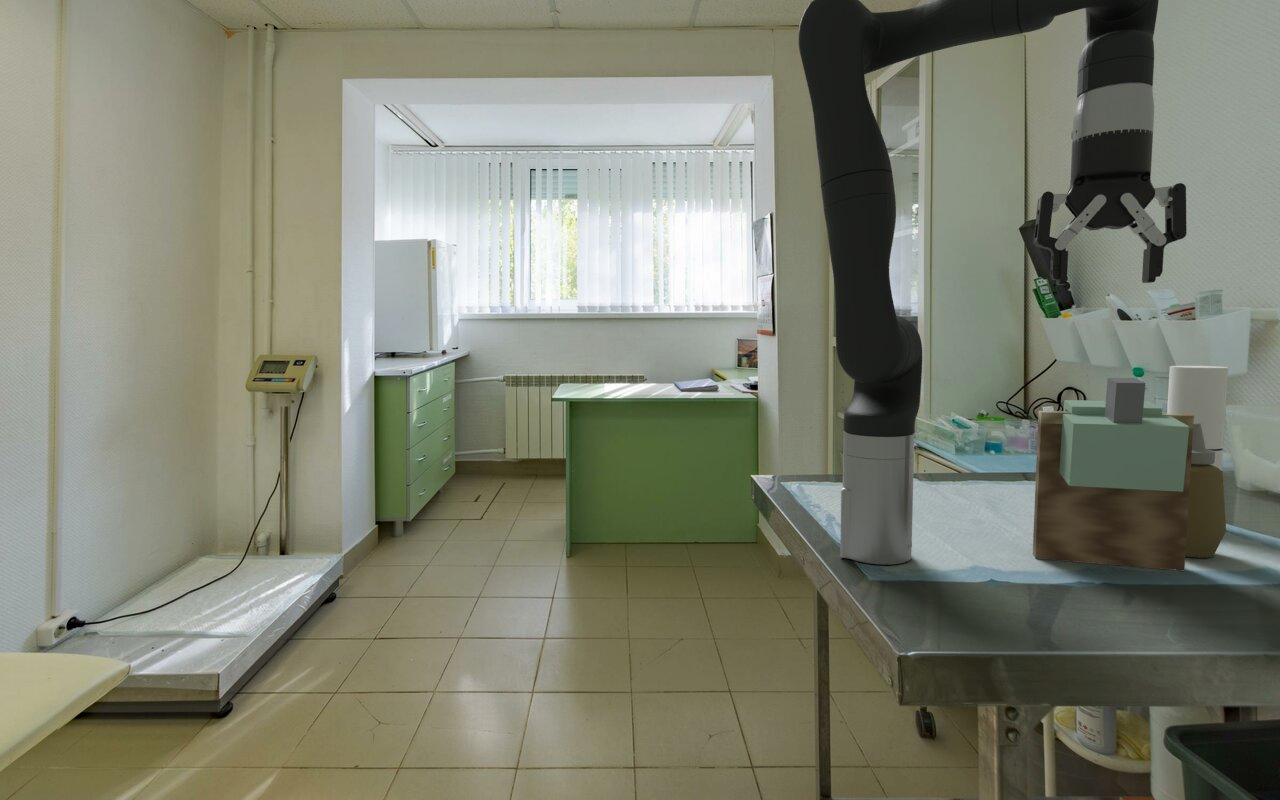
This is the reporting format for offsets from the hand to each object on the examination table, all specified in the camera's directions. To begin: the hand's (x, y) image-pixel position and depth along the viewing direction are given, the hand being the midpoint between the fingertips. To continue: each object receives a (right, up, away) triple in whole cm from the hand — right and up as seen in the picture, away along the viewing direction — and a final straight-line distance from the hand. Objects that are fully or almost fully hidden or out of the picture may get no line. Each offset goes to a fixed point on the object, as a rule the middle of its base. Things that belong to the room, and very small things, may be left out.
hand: (1104, 283), depth 81 cm
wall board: (+11, -34, +17) cm, 40 cm away
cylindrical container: (+34, -33, +32) cm, 57 cm away
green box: (+9, -23, +12) cm, 28 cm away
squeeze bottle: (+23, -35, +19) cm, 46 cm away
